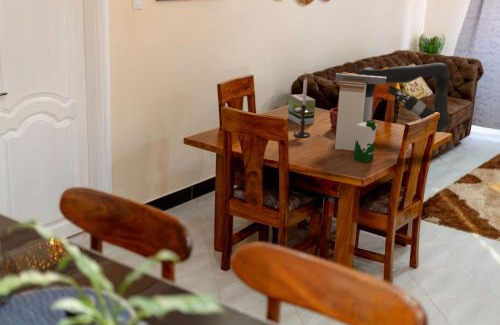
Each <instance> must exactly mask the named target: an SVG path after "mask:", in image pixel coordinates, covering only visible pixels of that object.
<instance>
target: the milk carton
mask: <svg viewBox="0 0 500 325" xmlns="http://www.w3.org/2000/svg"><path fill="white" fill-rule="evenodd" d="M377 129H378V124H376V121H374V120H372V119H371V120H368V121H367V123H366V122H362V123H360V124H357V125H356V140H355V150H354V153H353V160H354V161H356V162H357V161H358V162H361V163H365V164H367V163H369V162H371V161H373V160H374V154H375V145H376V144H375V142H376V133H377Z"/></svg>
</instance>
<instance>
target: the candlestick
mask: <svg viewBox="0 0 500 325" xmlns="http://www.w3.org/2000/svg"><path fill="white" fill-rule="evenodd" d="M307 92H308V80H307V72H304V79H303V88H302V94H303V100H302V104H301V106H302V107H298V108H294V110H293V111H294V112H295V113H298V114H302V121H300V123H301V125H299V126H300V131H295V132H293V136H294V137H295V138H301V139H307V138H310V137H311V133H310V132H307V131H304V129H305V127H306V126H305V125H304V124H305V121H304V115H305V114H312V113H313V112H314V110H313V109H311V108H306V106H308V105H306V96H307Z"/></svg>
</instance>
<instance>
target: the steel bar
mask: <svg viewBox="0 0 500 325" xmlns="http://www.w3.org/2000/svg"><path fill="white" fill-rule="evenodd" d="M343 79H351V80H364V81H366V83H369V84H376V85H384V86H386V84H387V83H386V77H381V76H369V75H357V74H354V73H353V74H352V73H342V72H341V73H339V72H336V73H335V80H334V81H335V82H343Z"/></svg>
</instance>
